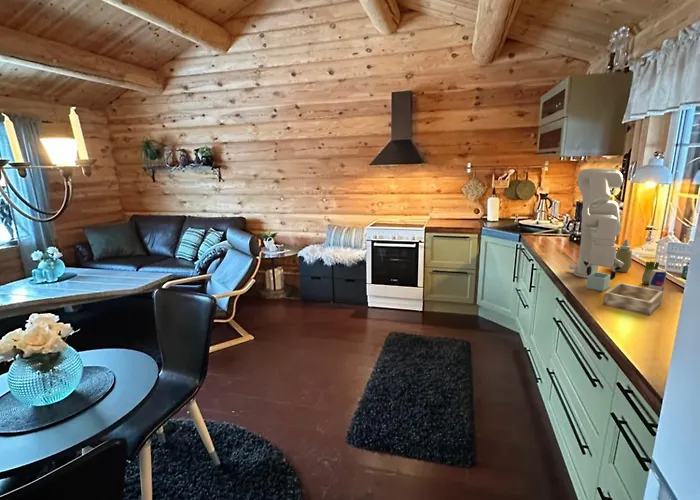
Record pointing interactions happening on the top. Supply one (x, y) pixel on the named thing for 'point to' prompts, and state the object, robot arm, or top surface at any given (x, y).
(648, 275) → the fennel bulb
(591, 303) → the top surface
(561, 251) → the top surface
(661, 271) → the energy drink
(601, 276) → the small crate
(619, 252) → the squeeze bottle
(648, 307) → the wooden crate
